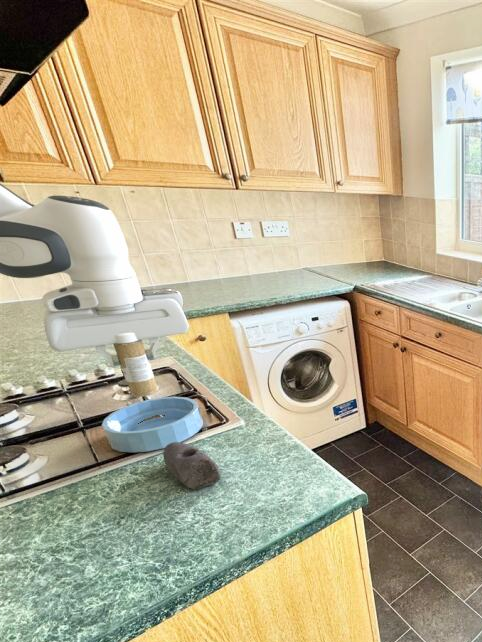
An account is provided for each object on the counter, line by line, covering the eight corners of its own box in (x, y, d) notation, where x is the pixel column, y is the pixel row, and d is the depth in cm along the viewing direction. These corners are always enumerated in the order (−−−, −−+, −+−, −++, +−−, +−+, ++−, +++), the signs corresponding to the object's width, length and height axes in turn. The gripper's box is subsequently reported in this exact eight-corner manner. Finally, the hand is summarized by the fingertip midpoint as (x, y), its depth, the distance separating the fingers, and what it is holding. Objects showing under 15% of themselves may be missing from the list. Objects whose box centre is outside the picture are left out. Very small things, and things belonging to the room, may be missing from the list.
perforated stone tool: (158, 469, 80) (147, 438, 77) (190, 457, 84) (180, 427, 81) (194, 502, 73) (183, 469, 70) (226, 486, 77) (217, 455, 74)
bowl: (93, 460, 81) (83, 436, 79) (136, 420, 95) (128, 399, 93) (186, 452, 85) (179, 429, 83) (214, 415, 99) (208, 394, 97)
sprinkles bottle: (131, 391, 86) (108, 328, 81) (159, 386, 89) (139, 325, 83) (130, 399, 83) (106, 335, 77) (159, 394, 86) (138, 332, 80)
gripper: (176, 283, 86) (193, 347, 92) (30, 295, 72) (62, 368, 78) (182, 289, 82) (200, 355, 88) (29, 303, 69) (63, 379, 74)
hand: (134, 361), depth 83 cm, fingers closed on sprinkles bottle, 4 cm apart
